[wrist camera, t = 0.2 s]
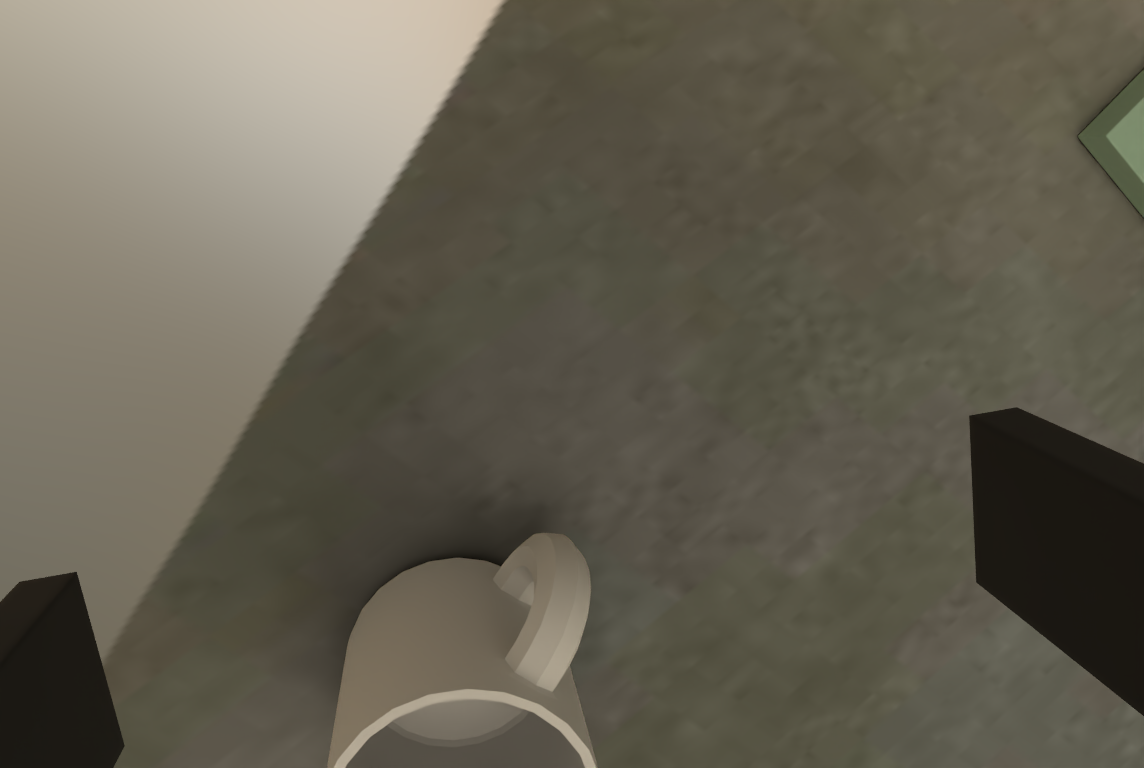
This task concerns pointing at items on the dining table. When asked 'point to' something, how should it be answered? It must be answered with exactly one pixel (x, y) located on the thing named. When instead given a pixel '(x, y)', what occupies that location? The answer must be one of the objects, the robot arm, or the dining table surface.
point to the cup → (469, 665)
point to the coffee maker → (1121, 141)
